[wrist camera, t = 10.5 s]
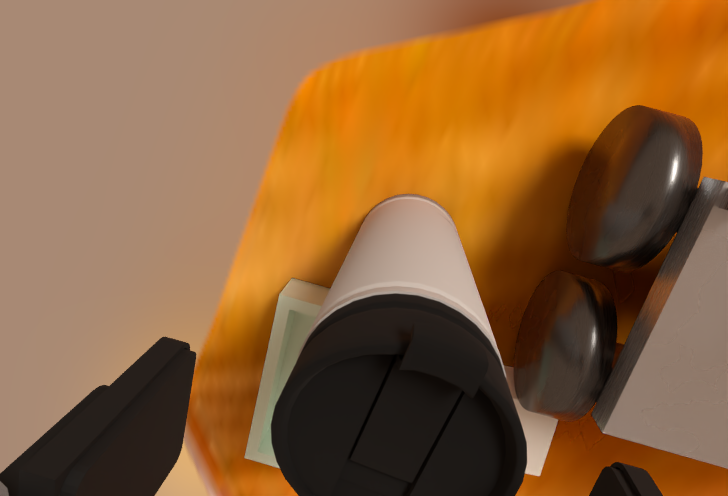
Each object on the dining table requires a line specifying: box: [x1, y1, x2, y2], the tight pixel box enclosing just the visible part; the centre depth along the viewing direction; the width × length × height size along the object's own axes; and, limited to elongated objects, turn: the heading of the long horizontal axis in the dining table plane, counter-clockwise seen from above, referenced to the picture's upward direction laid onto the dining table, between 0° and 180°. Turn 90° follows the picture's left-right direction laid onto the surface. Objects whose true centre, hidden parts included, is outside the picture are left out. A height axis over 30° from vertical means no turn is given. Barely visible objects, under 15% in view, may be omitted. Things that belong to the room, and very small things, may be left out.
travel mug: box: [271, 194, 527, 496], centre depth 20 cm, size 6×7×20 cm
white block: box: [503, 365, 558, 476], centre depth 30 cm, size 5×4×4 cm
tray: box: [244, 278, 330, 468], centre depth 31 cm, size 13×12×3 cm
